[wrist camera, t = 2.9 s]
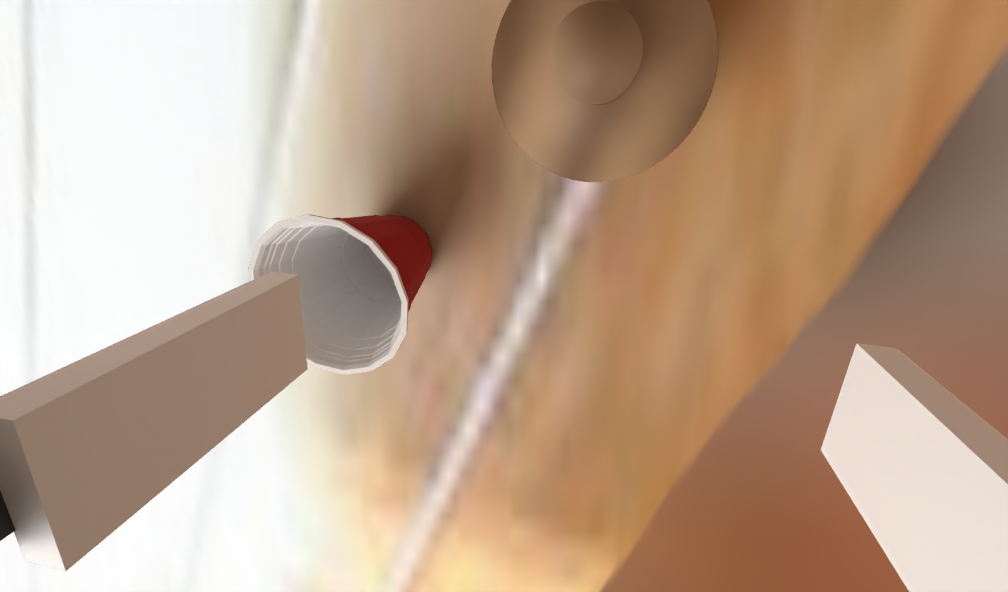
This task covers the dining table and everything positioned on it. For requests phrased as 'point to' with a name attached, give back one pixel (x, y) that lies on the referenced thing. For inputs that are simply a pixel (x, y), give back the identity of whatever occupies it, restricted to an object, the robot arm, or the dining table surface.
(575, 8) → the lid
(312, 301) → the plastic cup
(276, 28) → the dining table surface
